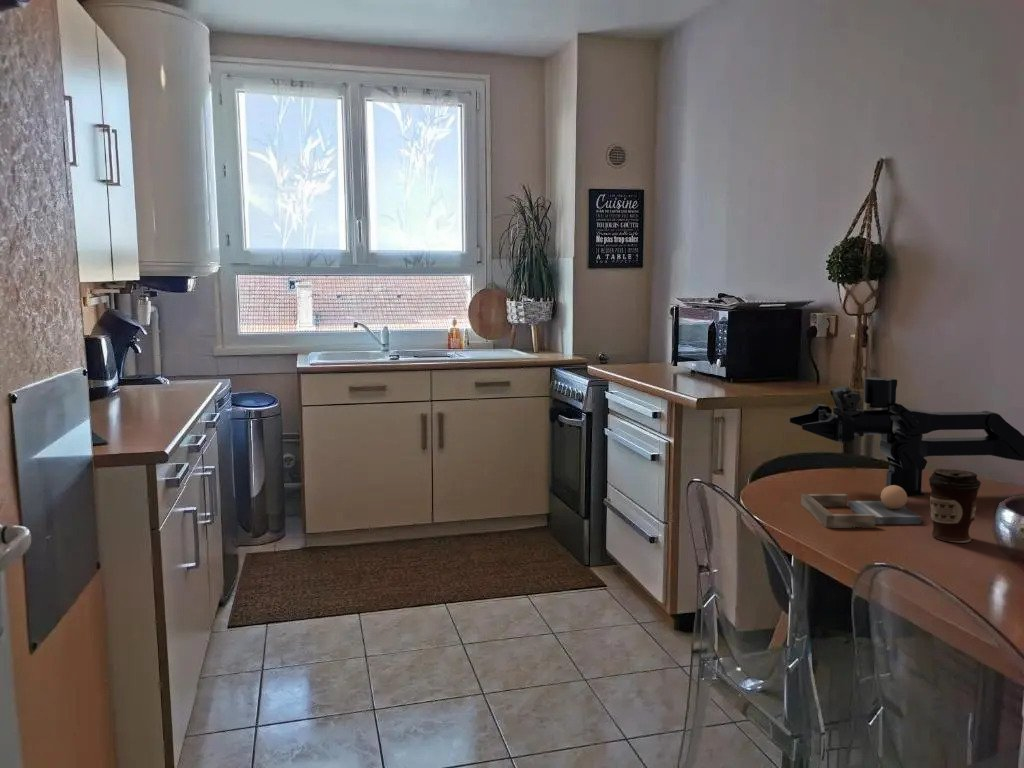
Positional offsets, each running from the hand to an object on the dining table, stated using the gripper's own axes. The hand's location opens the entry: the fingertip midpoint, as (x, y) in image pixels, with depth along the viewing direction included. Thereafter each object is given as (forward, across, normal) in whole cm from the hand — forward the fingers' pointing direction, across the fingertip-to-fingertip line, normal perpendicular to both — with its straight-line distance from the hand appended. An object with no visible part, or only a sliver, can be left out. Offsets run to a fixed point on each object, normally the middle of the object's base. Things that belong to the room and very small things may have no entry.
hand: (795, 423), depth 180 cm
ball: (-15, +19, +13) cm, 27 cm away
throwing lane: (-8, +19, +17) cm, 26 cm away
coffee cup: (-19, +34, +17) cm, 43 cm away
